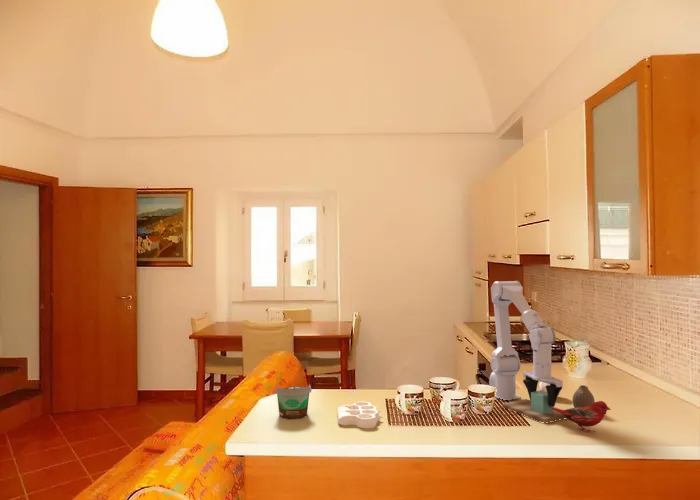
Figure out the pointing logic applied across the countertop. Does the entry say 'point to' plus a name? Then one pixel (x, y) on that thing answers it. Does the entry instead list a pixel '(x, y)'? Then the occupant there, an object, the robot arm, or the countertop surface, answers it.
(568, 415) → the decorative bird figurine
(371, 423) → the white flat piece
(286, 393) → the food container
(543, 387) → the geometric ball
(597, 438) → the countertop surface
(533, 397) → the matte teal cube
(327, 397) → the countertop surface
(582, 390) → the vase
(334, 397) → the countertop surface
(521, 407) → the walnut base plate
